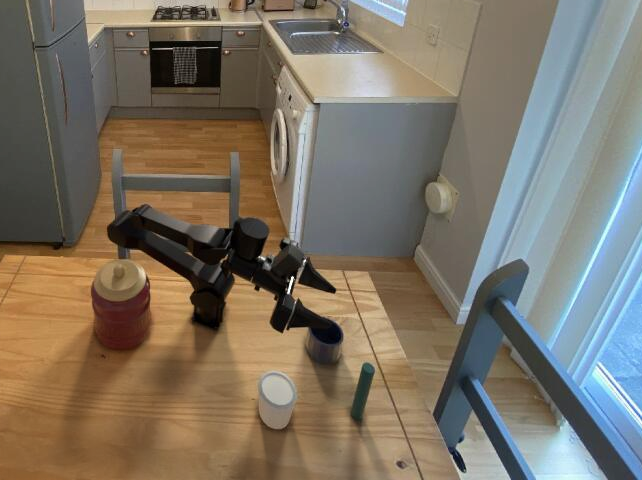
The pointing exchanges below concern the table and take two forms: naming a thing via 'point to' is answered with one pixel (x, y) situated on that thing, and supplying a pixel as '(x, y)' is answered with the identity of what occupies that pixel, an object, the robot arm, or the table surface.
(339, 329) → the cup
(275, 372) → the white cylindrical container
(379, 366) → the table surface
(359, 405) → the teal green rod
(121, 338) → the kitchen canister
